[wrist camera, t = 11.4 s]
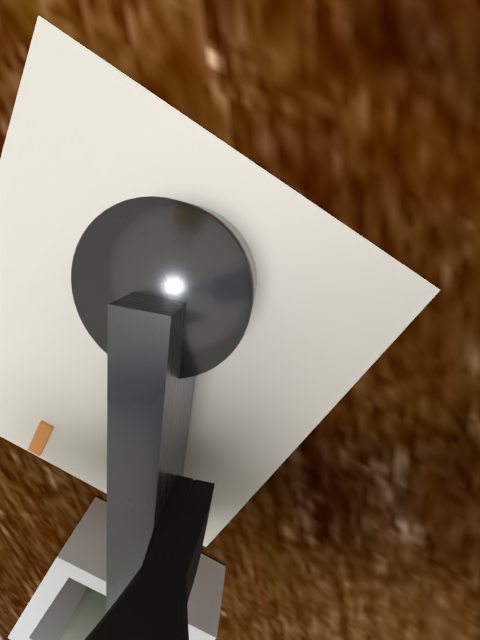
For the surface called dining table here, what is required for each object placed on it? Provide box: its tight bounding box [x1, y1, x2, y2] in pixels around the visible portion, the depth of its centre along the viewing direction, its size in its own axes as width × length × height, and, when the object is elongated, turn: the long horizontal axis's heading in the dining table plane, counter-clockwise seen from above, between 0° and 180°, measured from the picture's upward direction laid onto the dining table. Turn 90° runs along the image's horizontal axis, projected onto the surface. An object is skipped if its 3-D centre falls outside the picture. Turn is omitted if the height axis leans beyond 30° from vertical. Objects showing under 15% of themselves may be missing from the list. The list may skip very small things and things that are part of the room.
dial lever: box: [71, 196, 257, 613], centre depth 8 cm, size 12×4×3 cm, turn 171°
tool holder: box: [8, 497, 226, 640], centre depth 13 cm, size 7×7×2 cm
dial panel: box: [0, 15, 440, 547], centre depth 10 cm, size 13×12×1 cm
